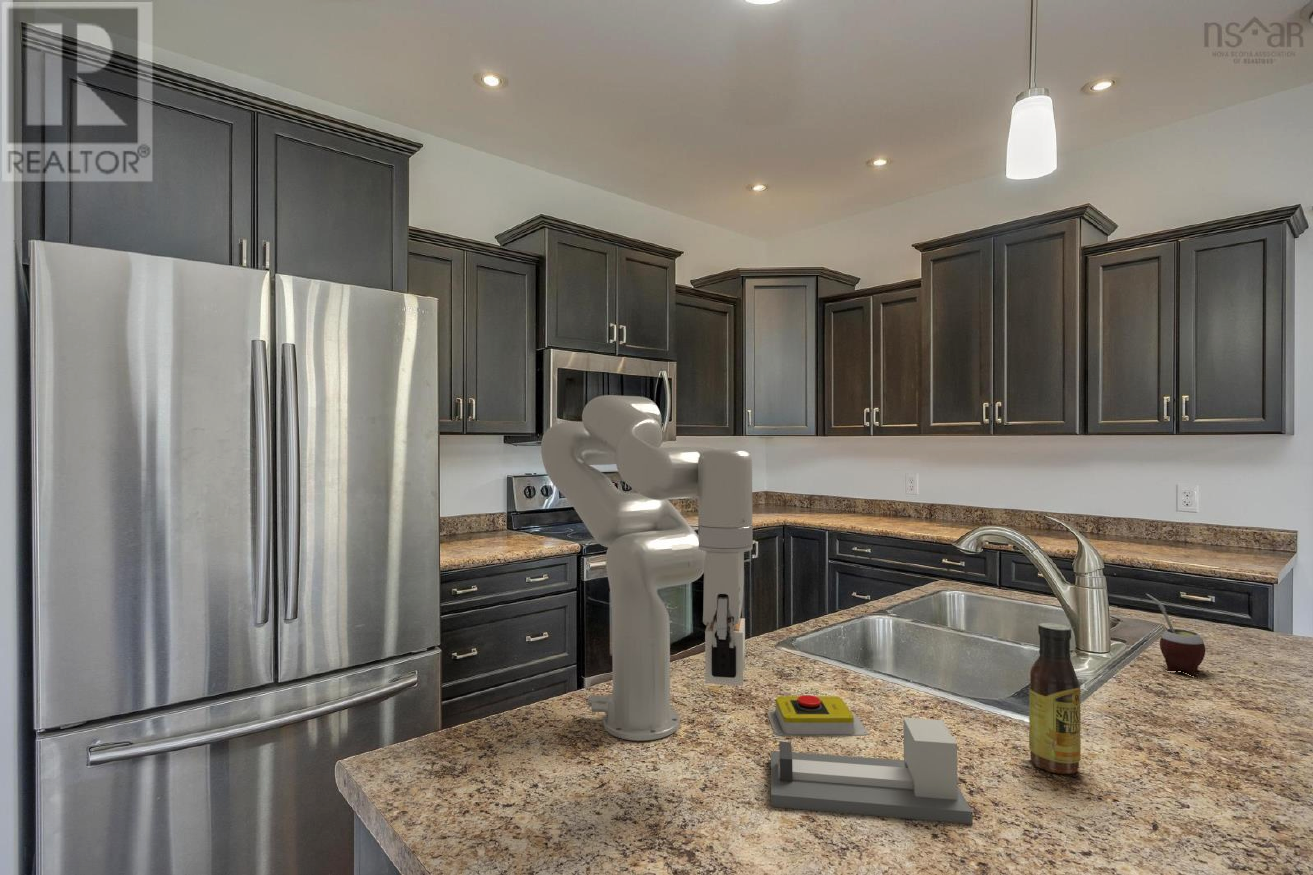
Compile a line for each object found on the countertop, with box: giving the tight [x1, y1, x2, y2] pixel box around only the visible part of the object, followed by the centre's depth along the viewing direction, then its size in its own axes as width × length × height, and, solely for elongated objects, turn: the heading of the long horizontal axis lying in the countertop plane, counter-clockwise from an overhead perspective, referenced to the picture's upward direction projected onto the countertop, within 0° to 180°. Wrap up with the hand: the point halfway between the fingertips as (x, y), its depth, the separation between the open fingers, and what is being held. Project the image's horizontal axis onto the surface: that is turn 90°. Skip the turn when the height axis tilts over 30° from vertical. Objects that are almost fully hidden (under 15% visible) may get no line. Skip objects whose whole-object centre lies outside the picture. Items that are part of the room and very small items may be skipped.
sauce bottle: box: [1028, 622, 1082, 775], centre depth 92 cm, size 6×6×20 cm
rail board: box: [770, 717, 974, 825], centre depth 86 cm, size 24×12×8 cm, turn 80°
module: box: [704, 617, 746, 687], centre depth 89 cm, size 5×7×7 cm
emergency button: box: [766, 694, 869, 737], centre depth 106 cm, size 9×4×15 cm
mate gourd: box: [1145, 593, 1206, 678], centre depth 129 cm, size 8×8×15 cm
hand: (725, 665), depth 89 cm, fingers closed on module, 7 cm apart
